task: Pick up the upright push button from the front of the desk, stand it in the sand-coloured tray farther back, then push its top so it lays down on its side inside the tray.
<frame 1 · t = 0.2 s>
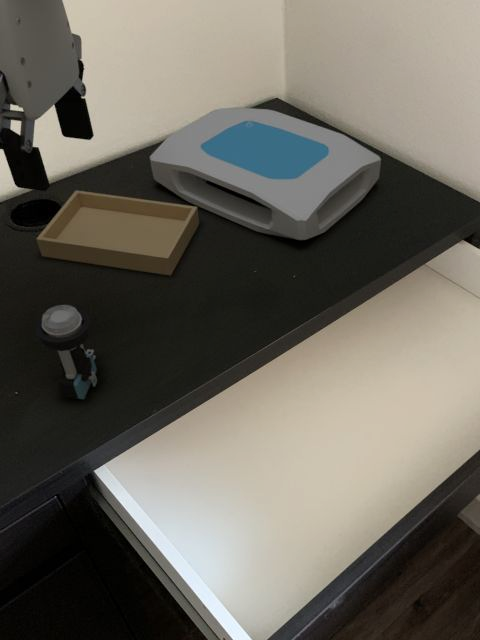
hand: (57, 161, 64), 21 cm above the table, tool pointing down, fingers open, 9 cm apart
push button: (85, 381, 74), on the table
tray: (123, 239, 92), on the table
grey rounded box: (266, 187, 102), on the table
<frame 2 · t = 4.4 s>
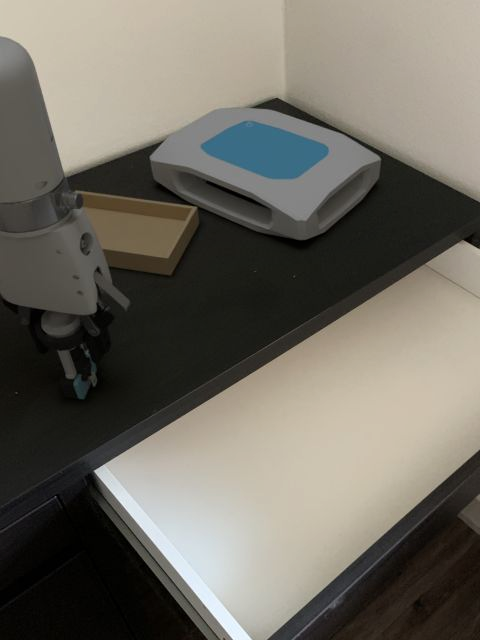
hand: (74, 348, 70), 5 cm above the table, tool pointing down, fingers closed on push button, 5 cm apart
push button: (85, 381, 74), on the table, touching gripper
everything else where it was.
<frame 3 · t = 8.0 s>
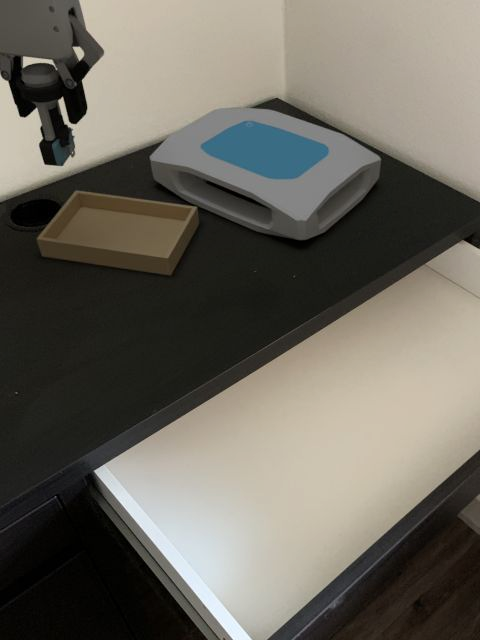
hand: (53, 113, 75), 19 cm above the table, tool pointing down, fingers closed on push button, 5 cm apart
push button: (64, 155, 79), point 14 cm above the table, touching gripper
everything else where it was.
when the fingers open (5 cm above the table, at t = 11.8 s): push button stays where it is, resting on tray.
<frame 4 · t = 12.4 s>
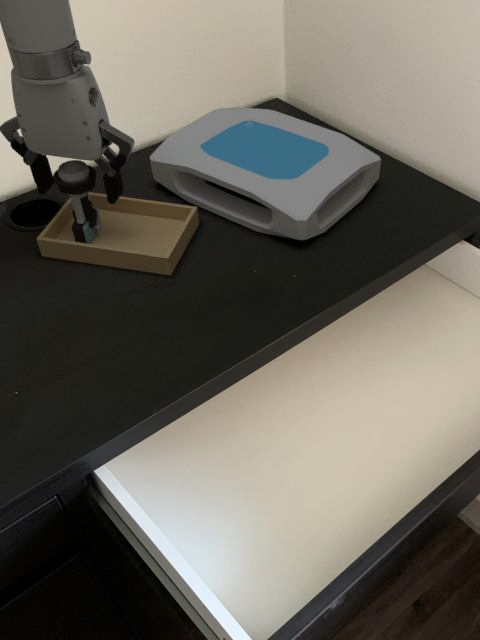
hand: (81, 193, 87), 6 cm above the table, tool pointing down, fingers open, 9 cm apart
push button: (92, 232, 92), resting on tray
everything else where it was.
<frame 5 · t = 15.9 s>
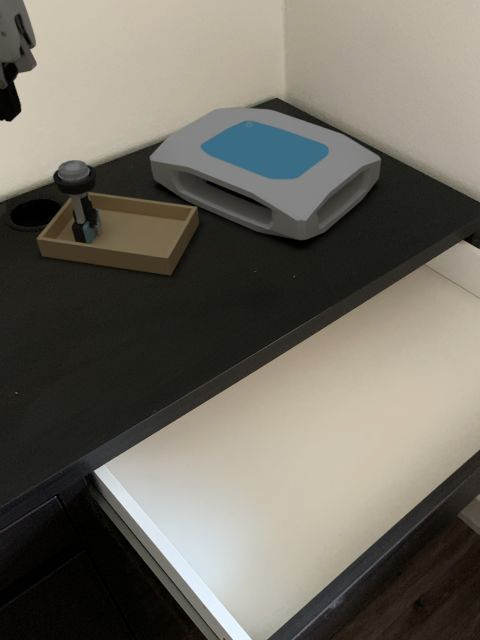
hand: (9, 115, 81), 16 cm above the table, tool pointing down, fingers closed
nothing on the table moved.
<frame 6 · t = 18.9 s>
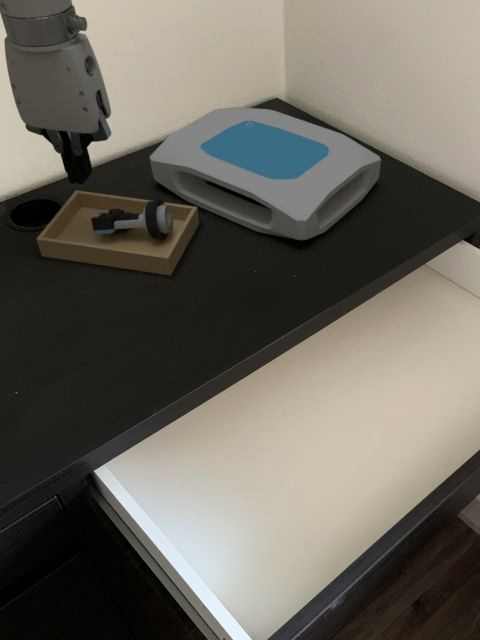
hand: (81, 178, 86), 9 cm above the table, tool pointing down, fingers closed
push button: (98, 221, 91), point 2 cm above the table, touching tray
everything else where it was.
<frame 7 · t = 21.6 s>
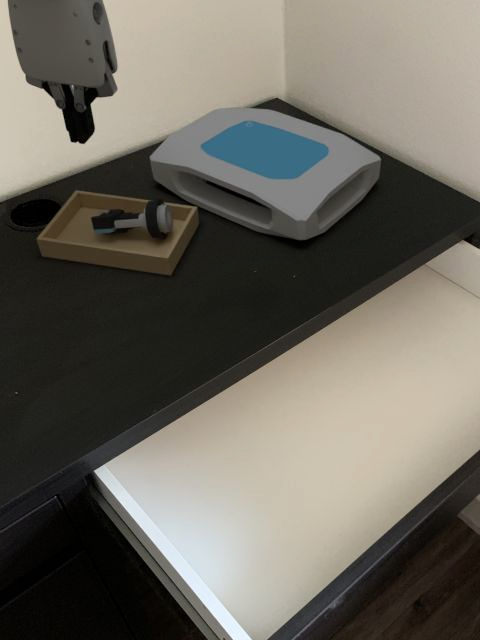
hand: (82, 137, 81), 15 cm above the table, tool pointing down, fingers closed
nothing on the table moved.
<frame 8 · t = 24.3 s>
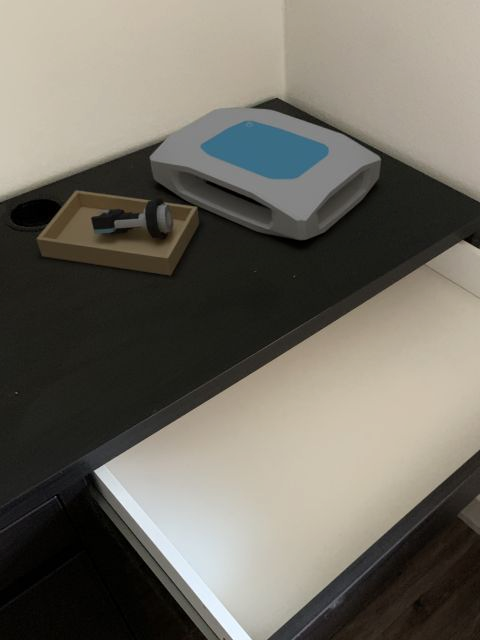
nothing on the table moved.
at the end: push button tilted 83°; push button inside the target area on the tray (3.5 cm from its centre), point 1.9 cm above the tray's base; the gripper is holding nothing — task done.
